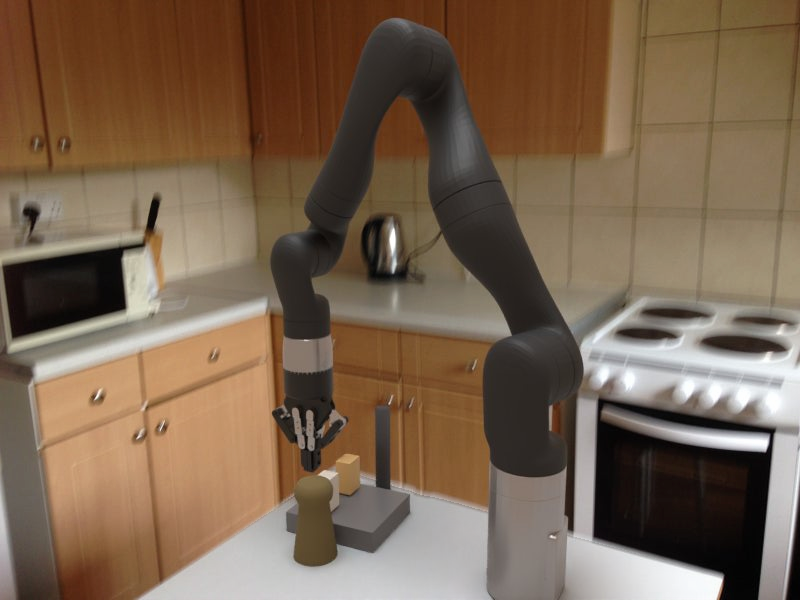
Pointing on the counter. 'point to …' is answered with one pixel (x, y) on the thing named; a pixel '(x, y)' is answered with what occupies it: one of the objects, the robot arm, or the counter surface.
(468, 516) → the counter surface
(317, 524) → the olive knobbed post
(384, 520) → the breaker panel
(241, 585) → the counter surface
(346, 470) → the block
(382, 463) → the post
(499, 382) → the robot arm
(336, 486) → the cream rectangular block
